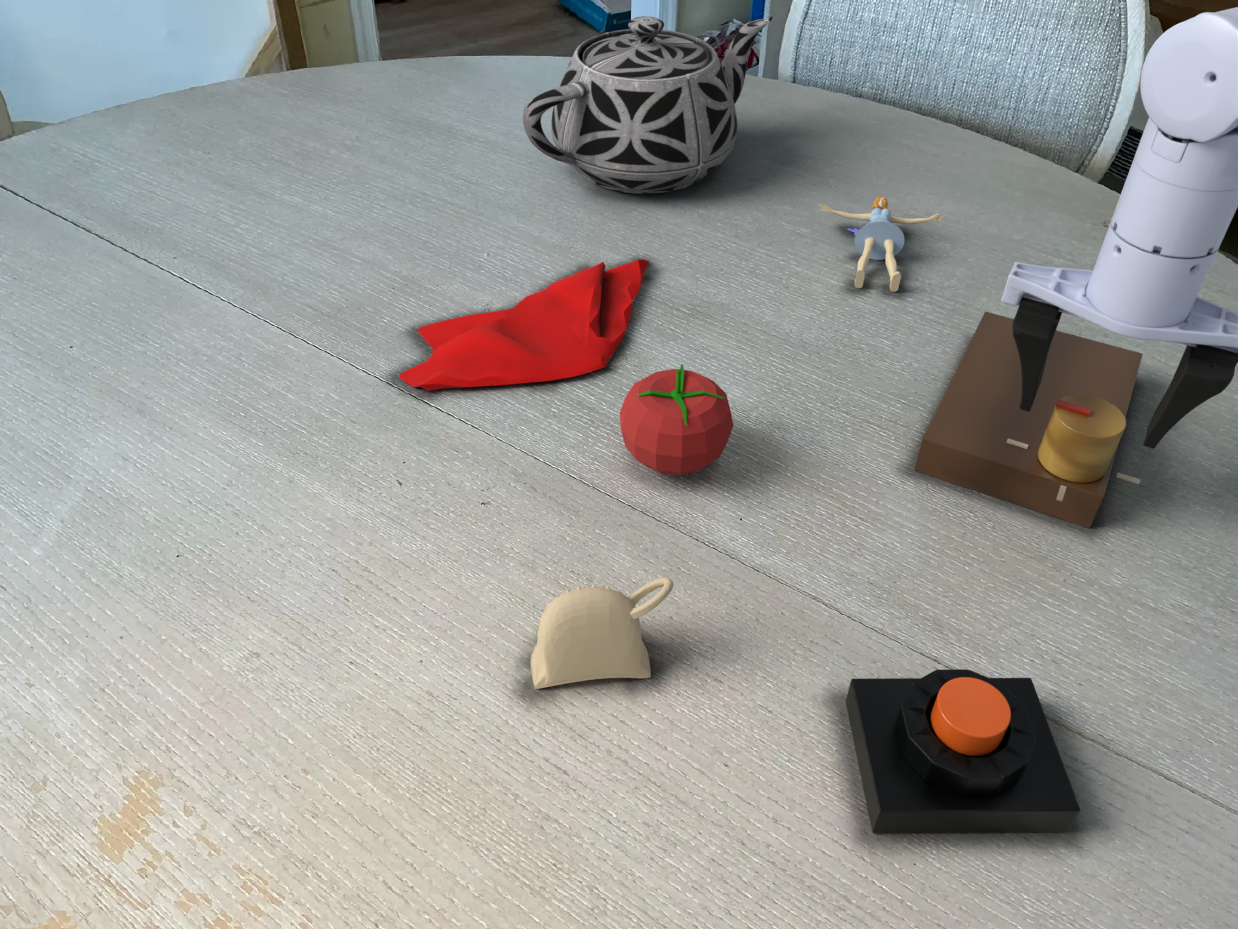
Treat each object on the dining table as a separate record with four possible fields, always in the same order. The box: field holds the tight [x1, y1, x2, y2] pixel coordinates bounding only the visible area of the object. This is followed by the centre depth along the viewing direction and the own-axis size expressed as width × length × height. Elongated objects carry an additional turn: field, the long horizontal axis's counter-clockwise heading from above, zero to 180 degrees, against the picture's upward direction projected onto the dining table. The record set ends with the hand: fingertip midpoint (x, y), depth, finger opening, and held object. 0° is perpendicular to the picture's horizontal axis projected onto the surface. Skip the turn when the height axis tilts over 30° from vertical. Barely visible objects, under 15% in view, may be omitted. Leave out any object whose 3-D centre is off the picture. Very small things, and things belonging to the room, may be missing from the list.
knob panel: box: [913, 311, 1144, 529], centre depth 74 cm, size 14×20×3 cm
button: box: [931, 677, 1011, 756], centre depth 51 cm, size 4×4×2 cm
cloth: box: [399, 258, 650, 392], centre depth 83 cm, size 26×14×2 cm, turn 124°
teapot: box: [522, 15, 769, 195], centre depth 103 cm, size 19×31×15 cm, turn 127°
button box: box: [845, 668, 1081, 834], centre depth 53 cm, size 10×8×4 cm
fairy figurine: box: [818, 195, 945, 293], centre depth 92 cm, size 12×5×12 cm
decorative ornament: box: [530, 576, 674, 690], centre depth 58 cm, size 4×8×5 cm, turn 96°
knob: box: [1038, 394, 1127, 483], centre depth 67 cm, size 4×4×4 cm
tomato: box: [619, 363, 735, 477], centre depth 70 cm, size 8×8×8 cm
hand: (1087, 420), depth 66 cm, fingers open, 7 cm apart
